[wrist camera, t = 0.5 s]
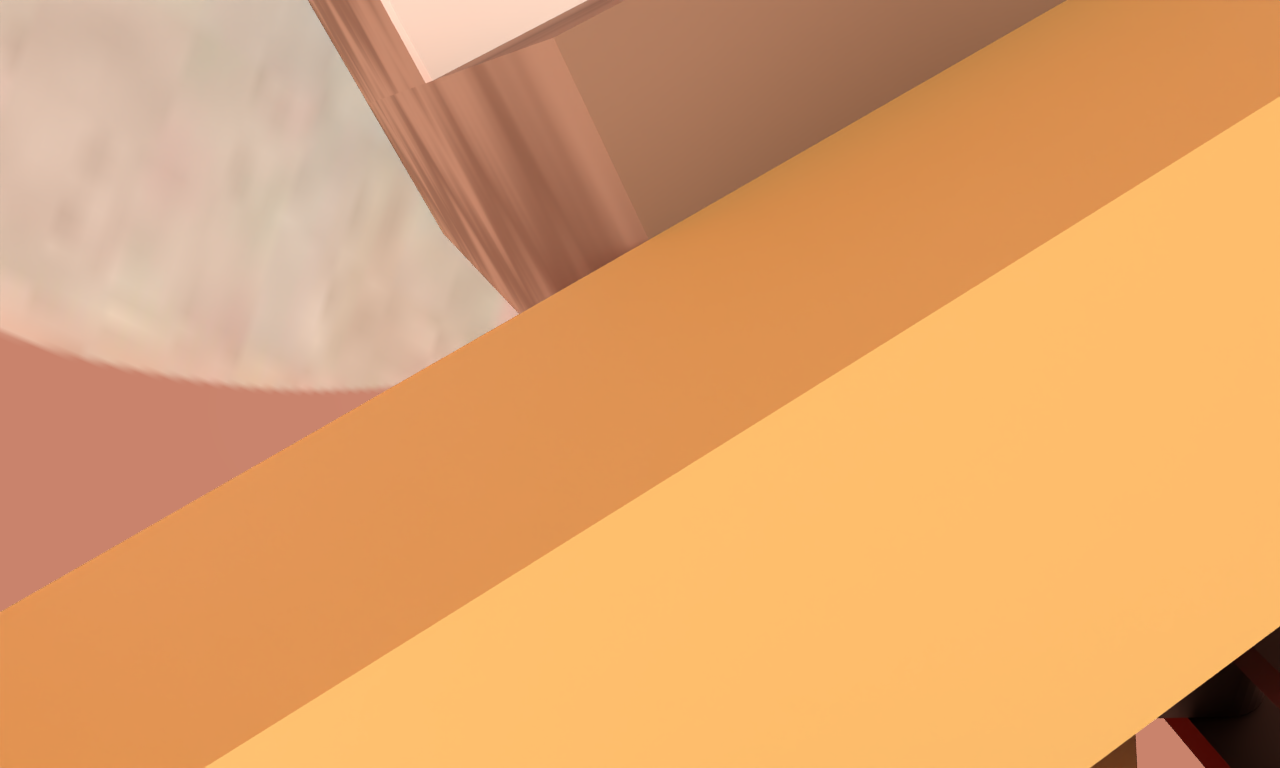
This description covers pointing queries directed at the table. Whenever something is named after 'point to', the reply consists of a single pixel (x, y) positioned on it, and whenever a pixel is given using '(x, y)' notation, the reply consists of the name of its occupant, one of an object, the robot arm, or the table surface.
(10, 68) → the table surface
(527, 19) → the step stand
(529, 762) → the bar
